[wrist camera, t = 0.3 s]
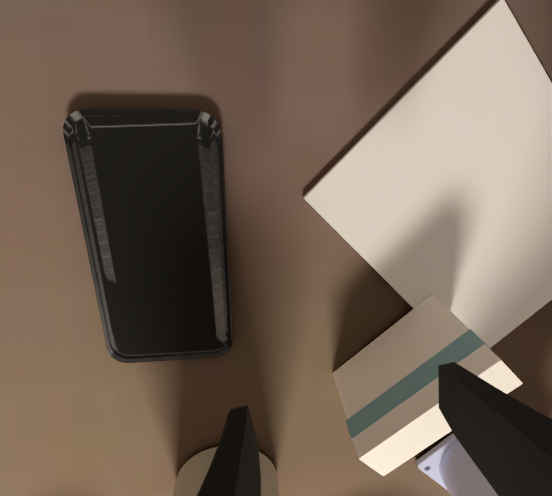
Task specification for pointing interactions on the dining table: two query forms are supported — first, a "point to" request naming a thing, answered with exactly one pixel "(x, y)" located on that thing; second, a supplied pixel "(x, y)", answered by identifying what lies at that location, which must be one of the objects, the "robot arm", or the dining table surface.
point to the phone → (154, 229)
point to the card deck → (410, 383)
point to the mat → (458, 183)
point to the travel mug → (198, 468)
